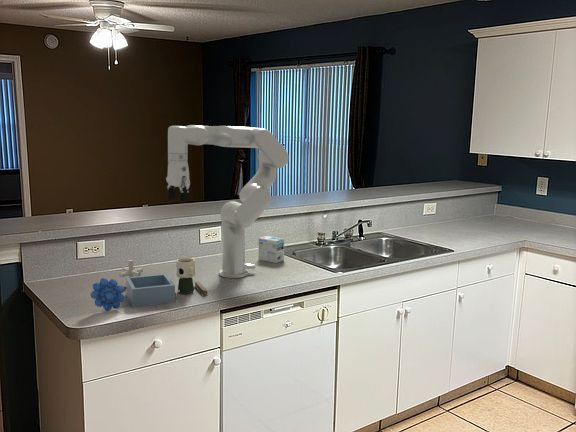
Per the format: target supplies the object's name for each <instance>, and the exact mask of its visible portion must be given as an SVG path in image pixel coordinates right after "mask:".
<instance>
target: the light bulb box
mask: <svg viewBox="0 0 576 432" xmlns="http://www.w3.org/2000/svg"><path fill="white" fill-rule="evenodd" d="M257 256H258V260H257V261H263V262H269V263H273V264H274V263H275V264H278V263H281V262H283V261H285V238H282V237H277V236H276V237H275V236H271V235H270V236H269V235H265V236H261V237H258V255H257Z"/></svg>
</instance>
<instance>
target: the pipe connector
mask: <svg viewBox="0 0 576 432" xmlns="http://www.w3.org/2000/svg"><path fill="white" fill-rule="evenodd" d="M121 271H122V272H119V274H118V276H119V277H120V278H124V277H125V278H126V277H137V276H142V274H141V273H143V271H144V269H143V268H142V267H138V268H135V269H134V260H133V259H128V268H127V267H123V268H122V269H121Z"/></svg>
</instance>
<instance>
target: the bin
mask: <svg viewBox="0 0 576 432" xmlns="http://www.w3.org/2000/svg"><path fill="white" fill-rule="evenodd" d="M125 281H126V282H125V284H126V287H125V288H126V289H125V290H126V291H125V292H126V295H127V298H128V300H129V302H130V304H131V306H132V308H137V307H145V306H154V305H162V304H170V303H176V299H175V293H176V284H175V283H174V282H173V281H172V279H171V278H170V277H169V276H168V275H167V273H159V274H150V275H149V274H148V275H141V276H134V277H129V276H125Z"/></svg>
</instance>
